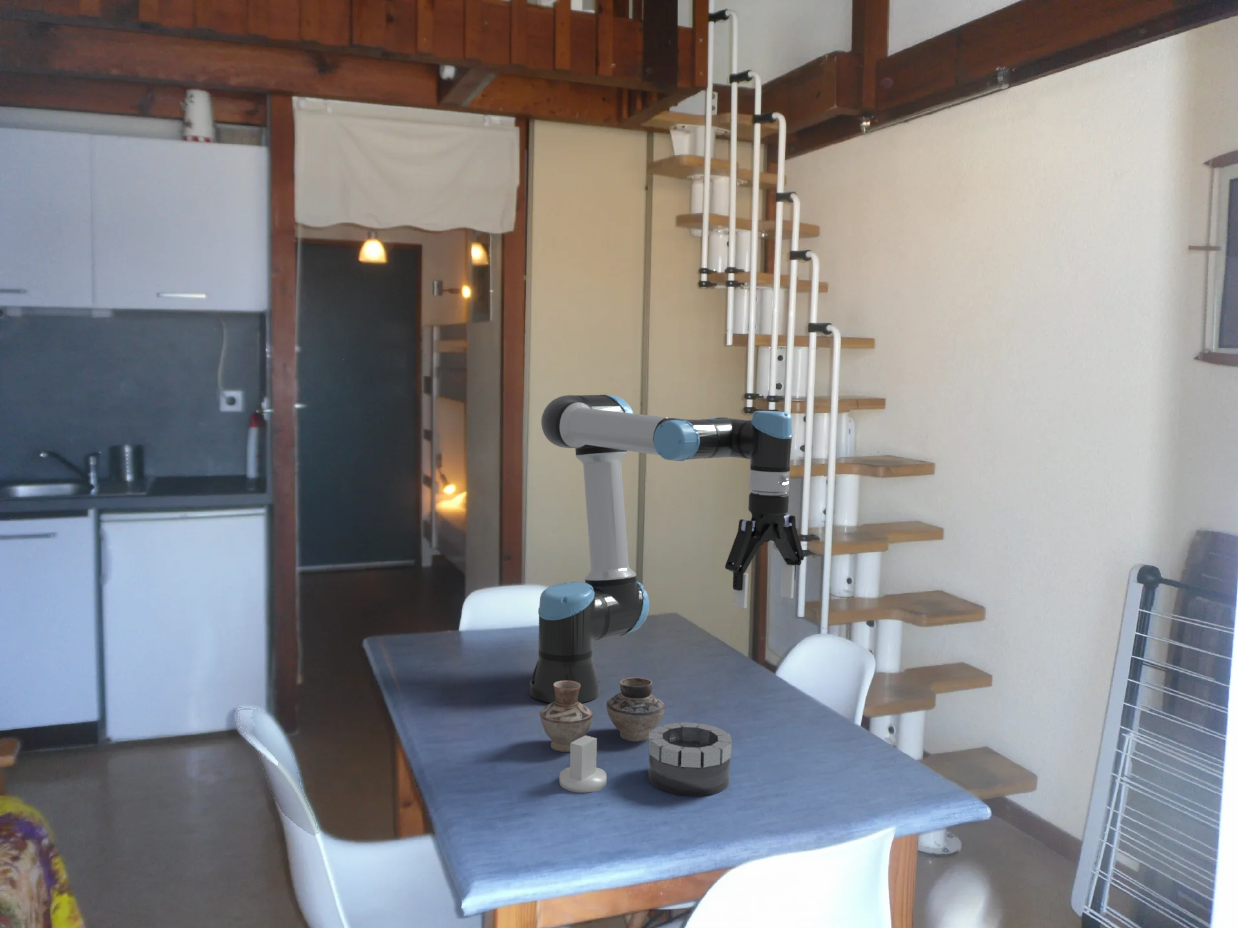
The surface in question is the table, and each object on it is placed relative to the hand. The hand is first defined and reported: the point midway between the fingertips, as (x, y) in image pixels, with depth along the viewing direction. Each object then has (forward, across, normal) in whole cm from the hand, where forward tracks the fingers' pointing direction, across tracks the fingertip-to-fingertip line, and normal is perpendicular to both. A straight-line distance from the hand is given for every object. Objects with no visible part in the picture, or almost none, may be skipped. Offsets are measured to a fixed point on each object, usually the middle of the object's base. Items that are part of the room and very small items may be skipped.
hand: (763, 601), depth 193 cm
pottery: (+27, -26, +16) cm, 41 cm away
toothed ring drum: (+26, -26, -7) cm, 37 cm away
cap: (+26, -41, +3) cm, 49 cm away
